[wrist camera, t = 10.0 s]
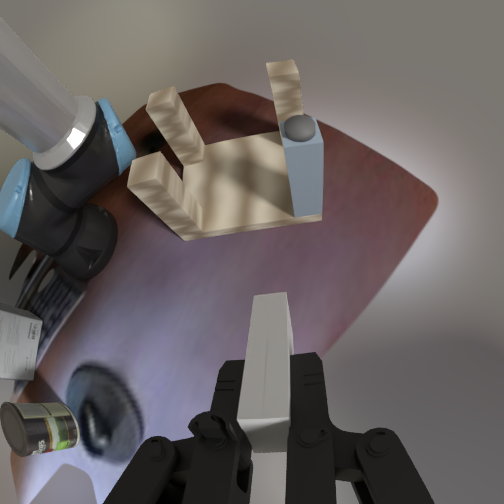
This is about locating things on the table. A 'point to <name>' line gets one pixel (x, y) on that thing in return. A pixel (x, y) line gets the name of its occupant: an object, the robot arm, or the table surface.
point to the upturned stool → (220, 169)
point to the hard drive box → (18, 343)
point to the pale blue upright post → (304, 163)
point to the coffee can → (38, 427)
